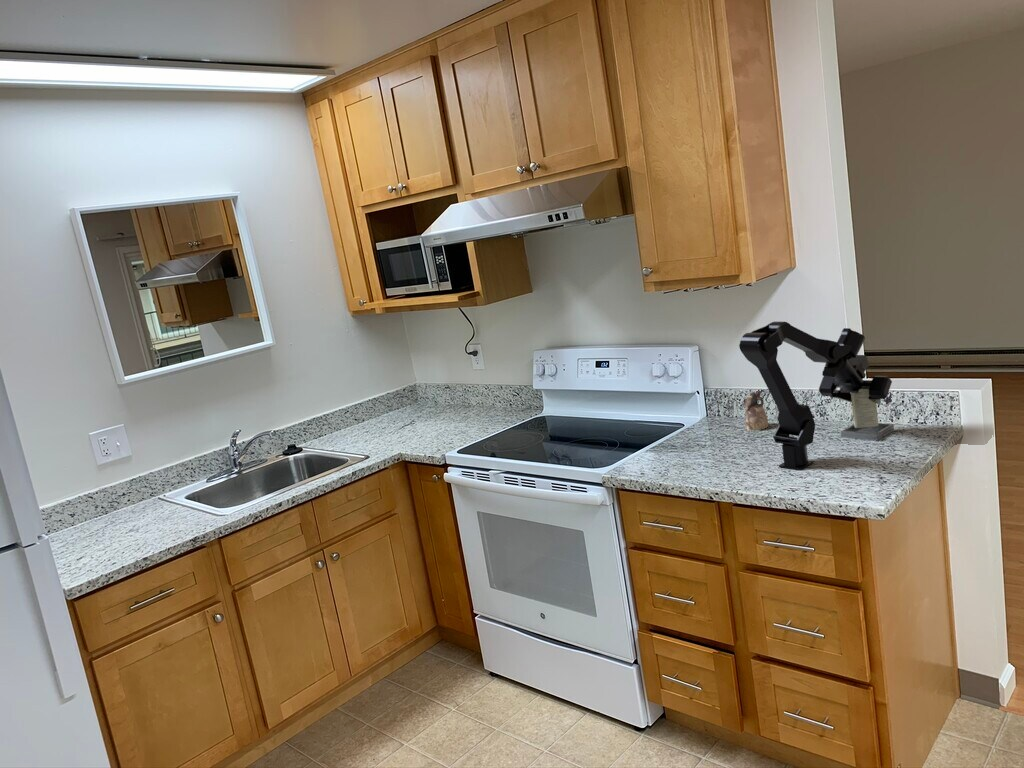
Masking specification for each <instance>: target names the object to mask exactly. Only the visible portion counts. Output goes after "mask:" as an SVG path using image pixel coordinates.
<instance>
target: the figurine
mask: <svg viewBox="0 0 1024 768" xmlns="http://www.w3.org/2000/svg"><path fill="white" fill-rule="evenodd" d="M761 394H762V391H761V390H758V391H757V392H756V393H755V391H753V390H752V391H749V392H748V393H747V395H745V401H744V403H743V405H744V408H745V409H744V410H745V411H746V412H745V423H744V426H745V427H744V430H745V429H747V430H746V431H748V430H751V431H750V432H753V431H752V430H760V431H762V430H761V429H764V430H766V429H768V428H767V427H769V420H768V416H767V413H766V411H765V409H764V404H765V403H764V400H763V398H762V396H761ZM759 401H760V403H759ZM765 428H766V429H765Z"/></svg>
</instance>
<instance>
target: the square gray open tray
mask: <svg viewBox="0 0 1024 768" xmlns="http://www.w3.org/2000/svg"><path fill="white" fill-rule="evenodd" d="M878 425H879V426H873V427H861V428H855V426H854V423H853V424H851V425H850V426H848V427H846V428H844V429H843V430H840V438H841V437H847V438H846V439H852V438H858V439H857V440H864V439H869V440H868V441H875V440H877V441H879V440H881V439H883V438H884V437H886V436H887V435H890V432H891V433H892V432H894V431H895V427H894V423H879V422H878ZM885 435H886V436H885ZM883 436H884V437H883ZM880 438H881V439H880Z"/></svg>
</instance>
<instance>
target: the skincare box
mask: <svg viewBox="0 0 1024 768" xmlns="http://www.w3.org/2000/svg"><path fill="white" fill-rule="evenodd" d="M868 398H869V389H860V390H859V391H858V393H851V400H852V402H851V409H852V416H853V424H854V426H855V428H861V427H873V426H879V425H878V423H879V418H878V417H879V415H878V409H877V403H875V402H873V401H871V400H869V399H868Z"/></svg>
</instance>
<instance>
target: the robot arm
mask: <svg viewBox="0 0 1024 768" xmlns="http://www.w3.org/2000/svg"><path fill="white" fill-rule="evenodd" d="M865 340H866V337H865V336H864V334H862V333H859V332H857V331H856V330H852V329H851V328H849V327H848V328H847V327H846V328H843V329H842V330H841V333H840V336H839V338H838V339H837V341H834V340H830V339H824V338H817V337H816V336H813V335H811V334H810V333H807V332H805V331H803V330H801V329H800V328H797V327H795V326H793V325H792V324H790V323H789V322H787V321H772V322H769V323H768V324H767V325H765V326H763V327H760V328H756V329H755V330H752V331H751V332H746V333H745V334H743V335H742V336H741V338H740V340H739V341H740V342H739V344H738V347H739V350H740V352H741V353H742V354H743V356H744V357H745V359H746V360H747V361H748V362H749V363H751V364H752V365H753V366H755V367H756V368H757V370H758V372H759V374H760V375H761V378H762V379H763V381H764V383H765V385H766V387H767V389H768V392H769V393H770V395H771V397H772V399H773V401H774V403H775V404H776V407H777V410H778V415H777V423H778V425H777V428H776V429H775V431H774V434H773V436H772V438H773V441H774V443H775V444H778V443H779V444H782V445H781V448H782V449H781V450H782V457H783V462H781V463H780V464H779V465H778V467H779V468H785V469H792V470H801V471H802V470H803V469H805V468H807V467H808V466H810V465H812V464H813V463H814V460H812V459H811V460H810V459H809V456H808V448H807V447H808V445H809V444H813V443H814V437H815V429H816V423H815V415H814V414H813V413H812V411H811V407H810V406H809V405H808V404H807V405H806V404H799V403H798V401H797V399H796V398H795V395H794V393H793V391H792V389H791V386H790V385H789V383H788V381H787V379H786V377H785V375H784V373H783V371H782V369H781V366H780V365H779V362H778V361H777V357H778V351H779V350H778V347H780V346H781V345H782V344H783V343H787V344H789V345H791V346H793V347H795V348H796V349H799V350H801V351H802V352H804V354H805V356H806V357H807V358H808V359H809V360H810V361H812V362H813V363H823V364H824V363H825V365H824V368H823V370H822V373H821V374H822V380H821V382H820V384H819V387H818V392H819V394H820V395H821V396H822V397H830V398H834V399H836V400H841V401H845V402H849V403H852V400H851V393H858V391H859V390H860V389H869V398H868V399H869V400H871V401H873V402H875V403H876V405H877V404H878V405H880V404H881V401H882V400H885V399H887V398H888V394H889V391H890V389H891V386H892V382H893V381H892V379H891V378H890V377H889V376H888V375H875V376H872V379H871V380H867V379H866V376H867V375H866V371H867V369H868V367H870V363H869V359H868V357H867V355H866V354H859V353H860V350H861V348H862V347H863V344H864V342H865ZM865 379H866V380H865ZM794 436H795V437H794ZM796 436H797V437H796Z"/></svg>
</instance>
